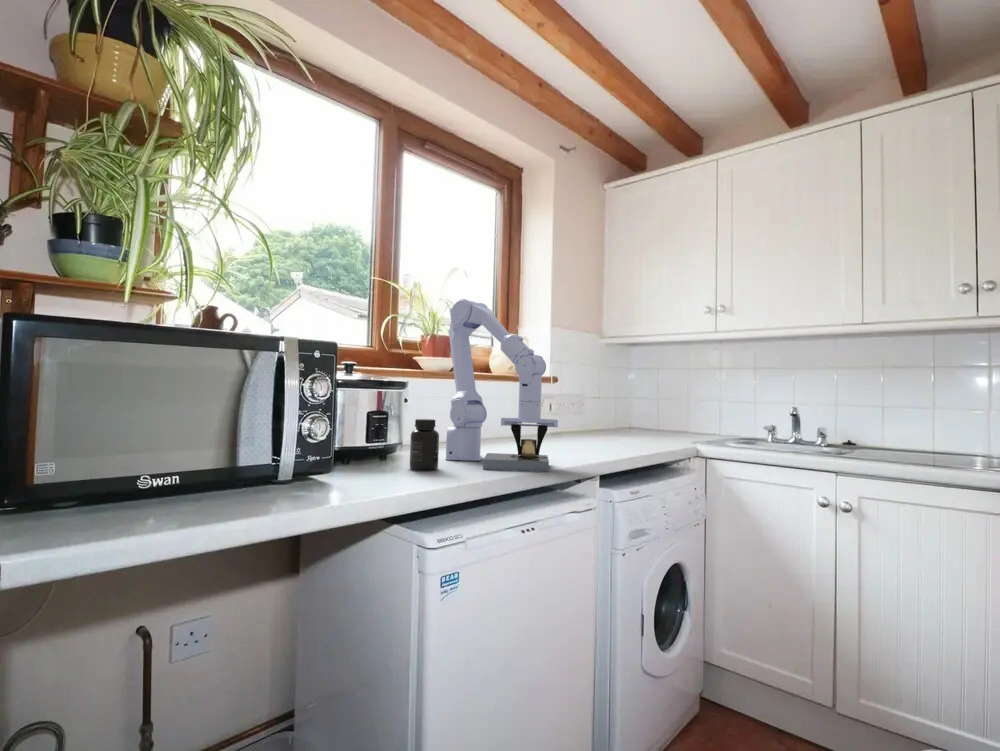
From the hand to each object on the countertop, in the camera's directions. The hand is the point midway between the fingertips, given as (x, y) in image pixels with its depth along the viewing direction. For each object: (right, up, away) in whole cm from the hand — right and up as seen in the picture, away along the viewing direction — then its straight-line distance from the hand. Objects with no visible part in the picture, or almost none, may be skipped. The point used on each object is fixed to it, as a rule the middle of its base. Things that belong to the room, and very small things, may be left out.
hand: (528, 454), depth 134 cm
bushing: (0, -2, 0) cm, 2 cm away
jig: (-3, -3, -1) cm, 4 cm away
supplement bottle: (-26, -2, -8) cm, 27 cm away
